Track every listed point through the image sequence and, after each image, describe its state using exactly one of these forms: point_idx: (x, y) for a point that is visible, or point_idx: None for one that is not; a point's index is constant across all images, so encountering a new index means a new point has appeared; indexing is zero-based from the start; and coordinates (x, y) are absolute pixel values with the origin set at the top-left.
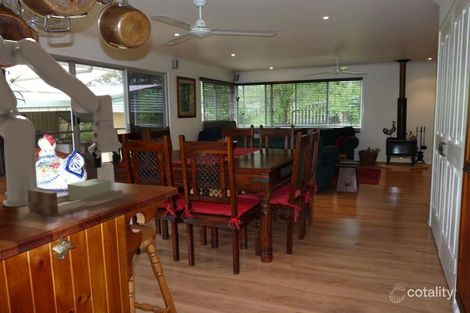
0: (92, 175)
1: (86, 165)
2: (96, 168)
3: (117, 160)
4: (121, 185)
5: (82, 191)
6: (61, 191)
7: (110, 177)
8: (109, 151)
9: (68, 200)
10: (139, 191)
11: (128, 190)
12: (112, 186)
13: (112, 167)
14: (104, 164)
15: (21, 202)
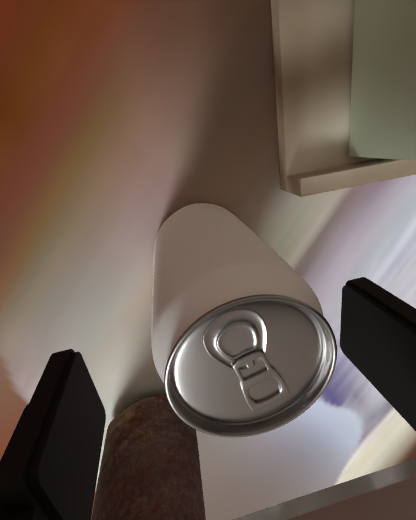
0: (183, 451)
1: None
2: (159, 498)
3: (63, 386)
4: (45, 324)
5: None
6: None
7: (218, 226)
8: (376, 488)
9: None
10: (46, 32)
11: (93, 147)
12: (191, 210)
13: (201, 268)
14: (310, 306)
15: None
